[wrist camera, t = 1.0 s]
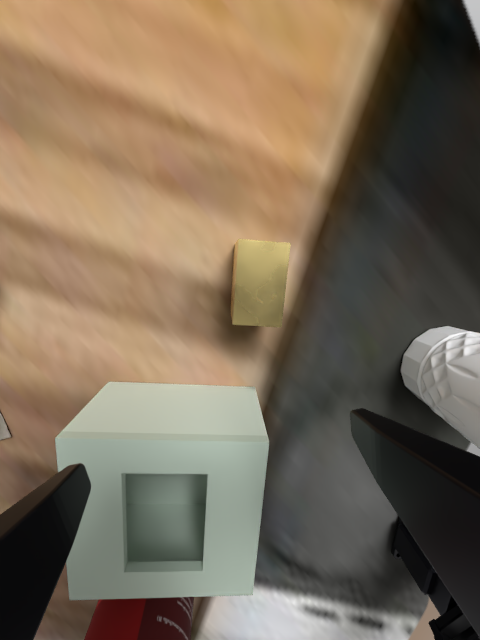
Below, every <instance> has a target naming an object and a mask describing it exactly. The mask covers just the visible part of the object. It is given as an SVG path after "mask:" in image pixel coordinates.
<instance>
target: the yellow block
mask: <svg viewBox="0 0 480 640" xmlns="http://www.w3.org/2000/svg"><path fill="white" fill-rule="evenodd" d="M289 252H290V243H282V242H270V241H257V240H245V239H238V240H237V242H236V243H235V247H234V262H233V278H232V293H231V309H230V310H231V317H232V323H233V325H247V326H266V327H281V326H282V316H283V307H284V298H285V289H286V280H287V271H288V262H289Z"/></svg>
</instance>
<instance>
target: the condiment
mask: <svg viewBox="0 0 480 640" xmlns="http://www.w3.org/2000/svg"><path fill="white" fill-rule="evenodd" d="M9 437H11V436H10V433H9V431H8V429H7V425H6V423H5V421H4V419H3V417H2V415H1V413H0V440H1V439H5V438H9Z"/></svg>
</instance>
